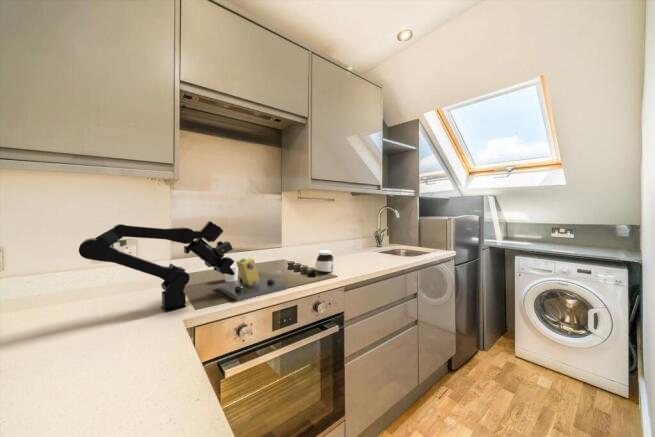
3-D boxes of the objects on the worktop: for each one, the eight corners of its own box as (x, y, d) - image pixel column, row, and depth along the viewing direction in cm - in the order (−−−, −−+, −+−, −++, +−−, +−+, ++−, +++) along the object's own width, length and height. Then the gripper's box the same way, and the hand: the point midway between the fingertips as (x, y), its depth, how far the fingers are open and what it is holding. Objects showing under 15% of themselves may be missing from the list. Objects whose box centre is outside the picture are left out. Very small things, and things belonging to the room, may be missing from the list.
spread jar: (326, 275, 134) (326, 253, 133) (309, 272, 139) (308, 251, 139) (337, 270, 144) (337, 250, 144) (320, 268, 150) (320, 248, 149)
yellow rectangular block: (251, 287, 107) (243, 262, 104) (242, 283, 114) (234, 259, 111) (261, 282, 110) (254, 257, 107) (252, 277, 117) (245, 255, 114)
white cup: (233, 282, 122) (233, 268, 121) (220, 282, 123) (220, 267, 123) (241, 278, 128) (240, 265, 128) (229, 278, 130) (228, 264, 130)
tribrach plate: (237, 301, 96) (237, 289, 96) (217, 288, 112) (216, 278, 112) (286, 289, 111) (286, 278, 111) (262, 279, 127) (261, 270, 127)
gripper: (228, 237, 95) (256, 262, 103) (211, 234, 109) (237, 256, 117) (206, 261, 90) (237, 285, 98) (192, 254, 104) (220, 276, 112)
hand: (233, 274), depth 106 cm, fingers closed
